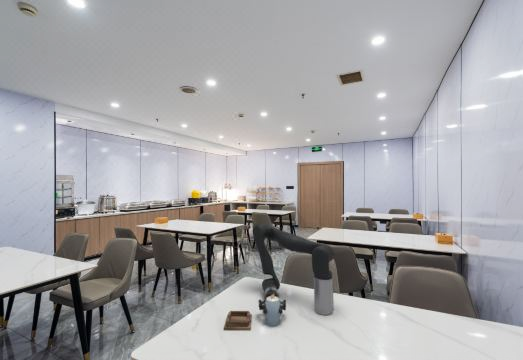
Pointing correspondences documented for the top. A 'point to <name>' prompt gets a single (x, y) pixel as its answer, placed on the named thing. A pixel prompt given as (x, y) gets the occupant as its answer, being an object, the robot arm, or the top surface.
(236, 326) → the tray
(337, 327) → the top surface
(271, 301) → the candle jar
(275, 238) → the robot arm
